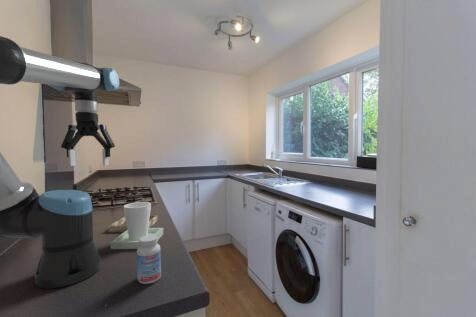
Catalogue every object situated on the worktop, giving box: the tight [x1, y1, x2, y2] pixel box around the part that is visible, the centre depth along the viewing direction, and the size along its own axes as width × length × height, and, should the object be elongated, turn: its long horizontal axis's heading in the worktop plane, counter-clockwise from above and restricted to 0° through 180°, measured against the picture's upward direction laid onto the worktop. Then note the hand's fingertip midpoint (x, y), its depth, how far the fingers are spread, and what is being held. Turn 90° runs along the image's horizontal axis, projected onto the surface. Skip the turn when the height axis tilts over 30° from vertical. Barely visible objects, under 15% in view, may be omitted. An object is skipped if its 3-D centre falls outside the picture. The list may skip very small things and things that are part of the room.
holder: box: [107, 214, 159, 233], centre depth 104 cm, size 16×16×2 cm
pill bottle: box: [136, 235, 162, 285], centre depth 62 cm, size 6×6×11 cm
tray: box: [109, 227, 164, 250], centre depth 87 cm, size 14×14×2 cm
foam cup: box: [123, 201, 152, 241], centre depth 86 cm, size 10×9×13 cm
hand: (89, 165), depth 92 cm, fingers open, 13 cm apart
